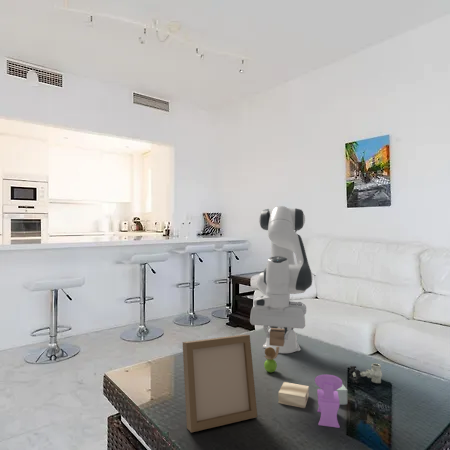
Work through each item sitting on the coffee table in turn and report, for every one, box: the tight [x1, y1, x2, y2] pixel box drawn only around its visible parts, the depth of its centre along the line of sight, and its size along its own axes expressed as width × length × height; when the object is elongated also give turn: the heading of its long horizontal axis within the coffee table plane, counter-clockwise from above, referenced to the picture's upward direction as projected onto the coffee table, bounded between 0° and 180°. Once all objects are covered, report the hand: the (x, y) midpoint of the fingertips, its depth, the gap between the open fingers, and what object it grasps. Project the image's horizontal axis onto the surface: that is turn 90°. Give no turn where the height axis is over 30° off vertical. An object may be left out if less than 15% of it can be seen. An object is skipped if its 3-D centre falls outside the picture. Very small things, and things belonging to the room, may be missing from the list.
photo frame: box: [182, 334, 258, 434], centre depth 110 cm, size 15×22×25 cm
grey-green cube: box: [335, 383, 348, 405], centre depth 121 cm, size 5×5×5 cm
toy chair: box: [314, 373, 343, 429], centre depth 109 cm, size 8×9×15 cm
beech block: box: [277, 381, 310, 409], centre depth 121 cm, size 9×9×4 cm
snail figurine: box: [263, 347, 279, 373], centre depth 145 cm, size 5×6×12 cm
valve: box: [348, 362, 383, 384], centre depth 136 cm, size 7×7×12 cm
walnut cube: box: [270, 328, 285, 346], centre depth 127 cm, size 5×5×5 cm
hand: (277, 338), depth 127 cm, fingers closed on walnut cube, 5 cm apart
